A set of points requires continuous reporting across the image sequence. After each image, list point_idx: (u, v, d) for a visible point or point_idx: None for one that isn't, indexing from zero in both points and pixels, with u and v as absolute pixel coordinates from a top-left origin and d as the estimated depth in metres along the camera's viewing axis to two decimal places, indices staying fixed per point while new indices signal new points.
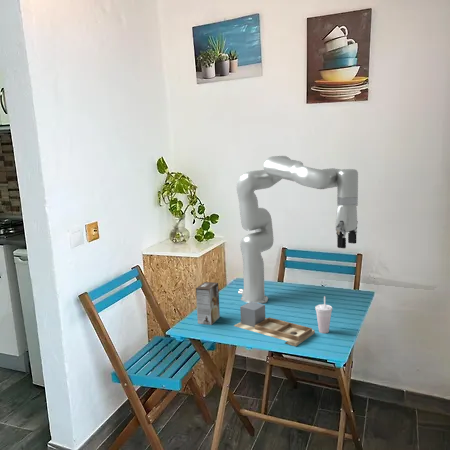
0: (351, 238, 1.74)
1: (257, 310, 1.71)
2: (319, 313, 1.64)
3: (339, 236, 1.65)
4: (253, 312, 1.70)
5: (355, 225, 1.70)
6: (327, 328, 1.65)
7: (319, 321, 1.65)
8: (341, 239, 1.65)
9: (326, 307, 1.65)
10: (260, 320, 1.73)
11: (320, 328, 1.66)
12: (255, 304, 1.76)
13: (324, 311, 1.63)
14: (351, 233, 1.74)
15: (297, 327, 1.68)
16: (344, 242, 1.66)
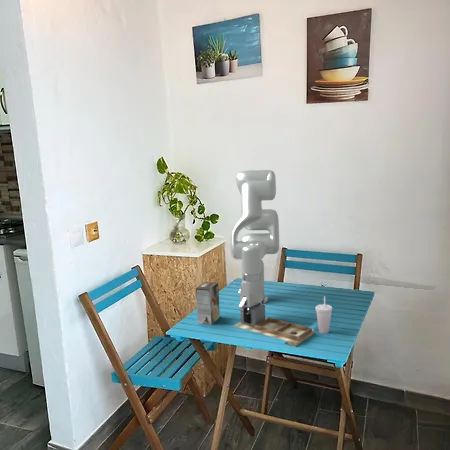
0: None
1: (257, 310, 1.71)
2: (319, 313, 1.64)
3: (244, 312, 1.70)
4: (253, 312, 1.70)
5: (260, 299, 1.74)
6: (327, 328, 1.65)
7: (319, 321, 1.65)
8: (246, 315, 1.71)
9: (326, 307, 1.65)
10: (260, 320, 1.73)
11: (320, 328, 1.66)
12: None
13: (324, 311, 1.63)
14: None
15: (297, 327, 1.68)
16: (249, 318, 1.71)
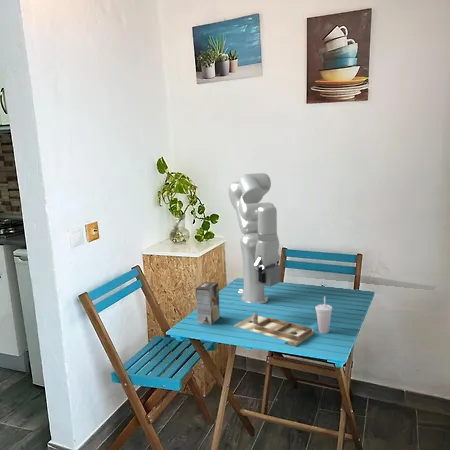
0: None
1: (272, 270, 1.73)
2: (319, 313, 1.64)
3: (259, 271, 1.73)
4: (268, 271, 1.72)
5: (275, 259, 1.77)
6: (327, 328, 1.65)
7: (319, 321, 1.65)
8: (261, 274, 1.74)
9: (326, 307, 1.65)
10: (275, 280, 1.75)
11: (320, 328, 1.66)
12: (270, 265, 1.78)
13: (324, 311, 1.63)
14: None
15: (297, 327, 1.68)
16: (264, 277, 1.74)
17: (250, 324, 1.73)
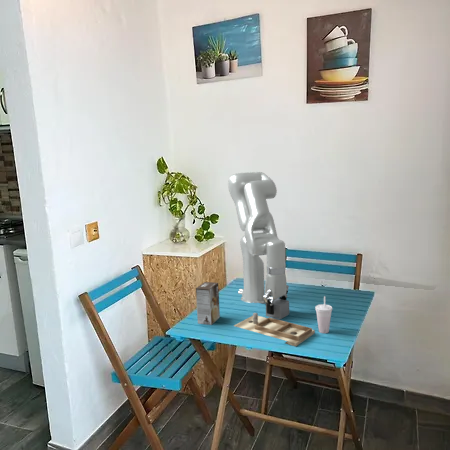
0: None
1: (282, 306, 1.78)
2: (319, 313, 1.64)
3: (267, 303, 1.76)
4: (278, 307, 1.77)
5: (284, 292, 1.81)
6: (327, 328, 1.65)
7: (319, 321, 1.65)
8: (269, 306, 1.77)
9: (326, 307, 1.65)
10: (285, 315, 1.80)
11: (320, 328, 1.66)
12: (279, 300, 1.83)
13: (324, 311, 1.63)
14: (282, 297, 1.85)
15: (297, 327, 1.68)
16: (272, 309, 1.77)
17: (250, 324, 1.73)
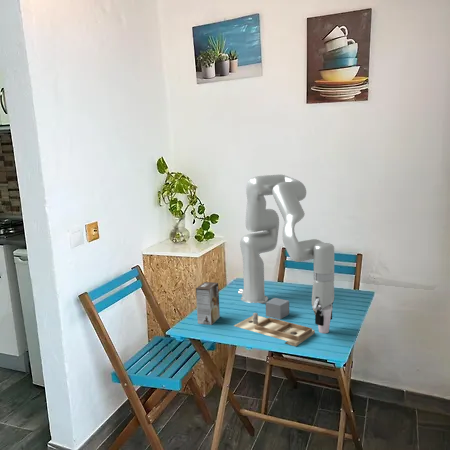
0: None
1: (282, 306, 1.78)
2: None
3: (317, 314, 1.62)
4: (278, 307, 1.77)
5: (332, 300, 1.66)
6: (327, 328, 1.65)
7: None
8: (319, 317, 1.63)
9: (326, 307, 1.65)
10: (285, 315, 1.80)
11: (320, 328, 1.66)
12: (279, 300, 1.83)
13: (324, 311, 1.63)
14: None
15: (297, 327, 1.68)
16: (322, 320, 1.63)
17: (250, 324, 1.73)
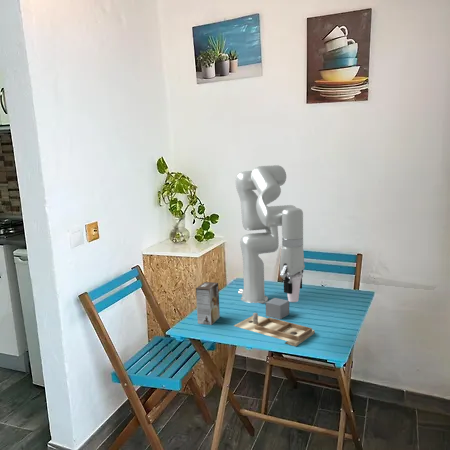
0: None
1: (282, 306, 1.78)
2: None
3: (285, 281, 1.56)
4: (278, 307, 1.77)
5: (301, 267, 1.60)
6: (296, 296, 1.59)
7: None
8: (287, 284, 1.57)
9: (295, 275, 1.59)
10: (285, 315, 1.80)
11: (289, 297, 1.60)
12: (279, 300, 1.83)
13: (293, 279, 1.57)
14: None
15: (297, 327, 1.68)
16: (290, 287, 1.57)
17: (250, 324, 1.73)
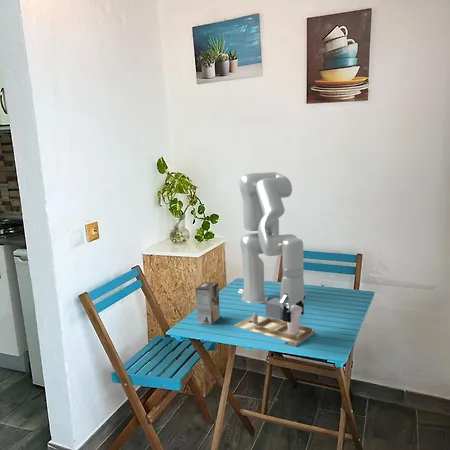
0: None
1: None
2: None
3: (283, 310, 1.57)
4: (278, 307, 1.77)
5: (301, 296, 1.62)
6: (296, 329, 1.62)
7: (288, 322, 1.62)
8: (286, 313, 1.58)
9: (296, 308, 1.61)
10: None
11: (289, 329, 1.62)
12: (279, 300, 1.83)
13: (293, 312, 1.59)
14: (298, 303, 1.66)
15: None
16: (289, 316, 1.58)
17: (250, 324, 1.73)
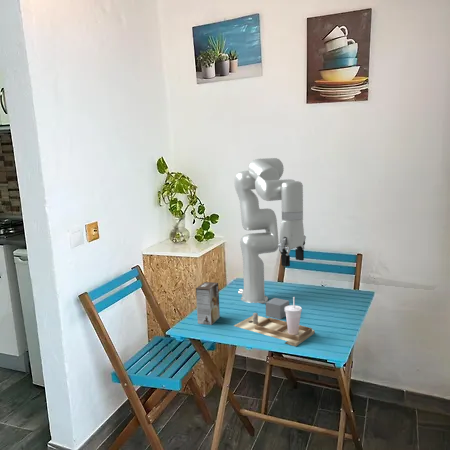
0: (298, 255, 1.62)
1: (282, 306, 1.78)
2: (288, 314, 1.61)
3: (282, 253, 1.54)
4: (278, 307, 1.77)
5: (301, 241, 1.59)
6: (296, 329, 1.62)
7: (288, 322, 1.62)
8: (285, 256, 1.54)
9: (295, 308, 1.61)
10: (285, 315, 1.80)
11: (289, 329, 1.62)
12: (279, 300, 1.83)
13: (293, 312, 1.59)
14: (298, 249, 1.62)
15: None
16: (288, 260, 1.54)
17: (250, 324, 1.73)
